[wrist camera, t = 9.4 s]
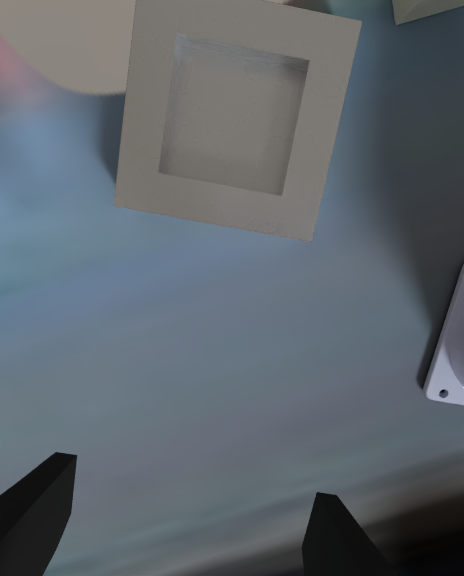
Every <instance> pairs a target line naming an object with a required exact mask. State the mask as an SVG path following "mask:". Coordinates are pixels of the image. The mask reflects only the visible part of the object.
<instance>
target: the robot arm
mask: <svg viewBox="0 0 464 576" xmlns="http://www.w3.org/2000/svg"><path fill="white" fill-rule="evenodd" d="M443 389H445V391H444V393H442V394H439V392H440V391H441V390H443ZM423 392H424V394H425V395H426V396H427V397H428V398H429V399H431V400H436V401H442V402H448V403H454V404H460V405H464V264H463V266H462V269H461V272H460V276H459V279H458V282H457V285H456V288H455V291H454V294H453V297H452V300H451V303H450V307H449V310H448V313H447V316H446V319H445V322H444V325H443V328H442V331H441V334H440V338H439V341H438V344H437V347H436V350H435V353H434V356H433V359H432V362H431V365H430V369H429V372H428V375H427V378H426V381H425V384H424V387H423ZM76 461H77V455H72V454H65V453H59V452H56V453H54V454H53V455H51V456H50V457H49V458H48V459H46V460H45V461H44V462H42V463H41V464H40V465H39V466H37V467H36V468H35V469H34V470H32V471H31V472H30V473H29V474H27V475H26V476H25V477H24V478H22V479H21V480H20V481H18V482H17V483H16V484H15V485H13V486H12V487H11V488H9V489H8V490H7V491H5V492H4V493H3V494H1V495H0V576H42V575H43V574H44V572H45V570H46V568H47V566H48V564H49V562H50V561H51V559H52V557H53V555H54V553H55V551H56V549H57V546H58V544H59V542H60V539H61V537H62V535H63V532H64V530H65V527H66V525H67V522H68V520H69V517H70V515H71V509H72V500H73V490H74V480H75V471H76ZM302 554H303V564H304V573H305V576H399V575H398V574H397V573H396V571H395V570H394V569H393V568H392V566H391V565H390V564H389V563H388V562H387V560H386V559H385V558H384V557H383V555H382V554H381V553H380V552H379V550H378V549H377V548H376V546H375V545H374V544H373V543H372V541H371V540H370V539H369V537H368V536H367V535H366V534H365V532H364V531H363V530H362V528H361V527H360V526H359V524H358V523H357V522H356V520H355V519H354V518H353V516H352V515H351V513H350V512H349V511H348V509H347V508H346V507H345V505H344V504H343V503H342V501H341V500H340V499H339V498H338V496H337V495H332V494H326V493H319V492H317V493H316V497H315V501H314V504H313V508H312V512H311V515H310V519H309V523H308V526H307V530H306V534H305V537H304V541H303V545H302Z"/></svg>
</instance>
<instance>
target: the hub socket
mask: <svg viewBox="0 0 464 576" xmlns="http://www.w3.org/2000/svg"><path fill="white" fill-rule="evenodd" d="M392 4H393V11H394V18H395V25H399V24H402V23H406V22H409V21H413V20H416V19H420V18H423V17H427V16H430V15H434V14H437V13H441V12H444V11H448V10H451V9H455V8H458V7H462V6H464V0H392Z"/></svg>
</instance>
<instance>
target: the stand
mask: <svg viewBox="0 0 464 576" xmlns="http://www.w3.org/2000/svg"><path fill="white" fill-rule="evenodd" d="M361 25H362V21H359V20H354V19H349V18H345V17H340V16H335V15H330V14H326V13H321V12H316V11H311V10H307V9H302V8H297V7H292V6H288V5H283V4H278V3H273V2H268V1H264V0H136V6H135V16H134V24H133V33H132V42H131V52H130V60H129V70H128V79H127V88H126V97H125V106H124V115H123V124H122V133H121V143H120V152H119V161H118V170H117V179H116V188H115V197H114V206H117V207H122V208H128V209H133V210H139V211H144V212H149V213H155V214H160V215H166V216H171V217H177V218H182V219H188V220H193V221H199V222H204V223H209V224H215V225H220V226H226V227H231V228H237V229H242V230H248V231H253V232H259V233H264V234H269V235H275V236H280V237H286V238H291V239H297V240H302V241H308V242H312V239H313V235H314V230H315V226H316V221H317V217H318V213H319V208H320V204H321V200H322V195H323V191H324V186H325V182H326V178H327V173H328V169H329V165H330V160H331V156H332V152H333V147H334V143H335V138H336V134H337V130H338V125H339V121H340V117H341V112H342V108H343V103H344V99H345V95H346V90H347V86H348V82H349V77H350V73H351V69H352V64H353V60H354V55H355V51H356V47H357V42H358V38H359V34H360V29H361Z"/></svg>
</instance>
